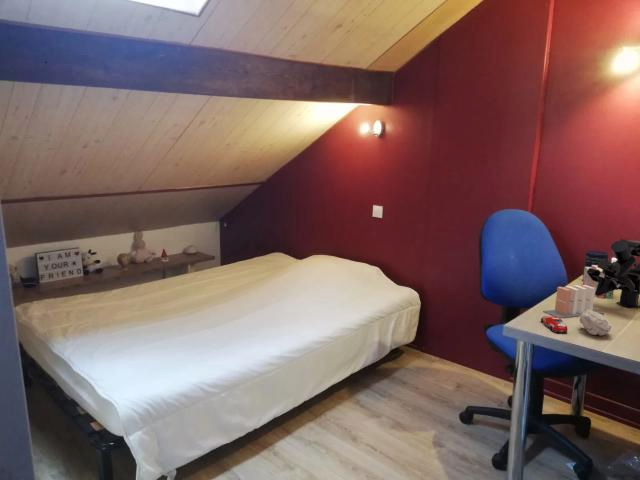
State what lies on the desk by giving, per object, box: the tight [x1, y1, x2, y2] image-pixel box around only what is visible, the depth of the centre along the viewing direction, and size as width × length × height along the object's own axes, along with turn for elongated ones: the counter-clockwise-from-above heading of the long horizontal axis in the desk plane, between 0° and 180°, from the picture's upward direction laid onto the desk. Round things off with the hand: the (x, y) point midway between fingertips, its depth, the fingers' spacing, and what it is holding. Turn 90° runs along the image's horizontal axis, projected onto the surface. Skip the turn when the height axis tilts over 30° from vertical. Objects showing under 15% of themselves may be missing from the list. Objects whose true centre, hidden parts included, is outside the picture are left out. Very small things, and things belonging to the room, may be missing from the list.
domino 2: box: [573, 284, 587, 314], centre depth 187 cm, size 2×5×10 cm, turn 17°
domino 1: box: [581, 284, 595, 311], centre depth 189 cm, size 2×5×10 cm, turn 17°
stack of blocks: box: [582, 265, 615, 300], centre depth 217 cm, size 21×6×12 cm, turn 168°
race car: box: [540, 315, 569, 334], centre depth 172 cm, size 13×5×4 cm, turn 176°
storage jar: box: [581, 250, 610, 282], centre depth 233 cm, size 10×10×15 cm
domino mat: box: [543, 308, 604, 319], centre depth 188 cm, size 22×8×1 cm, turn 107°
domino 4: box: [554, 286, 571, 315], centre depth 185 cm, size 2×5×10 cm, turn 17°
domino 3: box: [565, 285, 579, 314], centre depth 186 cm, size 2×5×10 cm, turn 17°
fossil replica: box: [579, 309, 612, 336], centre depth 166 cm, size 12×8×10 cm
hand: (596, 294), depth 190 cm, fingers closed
